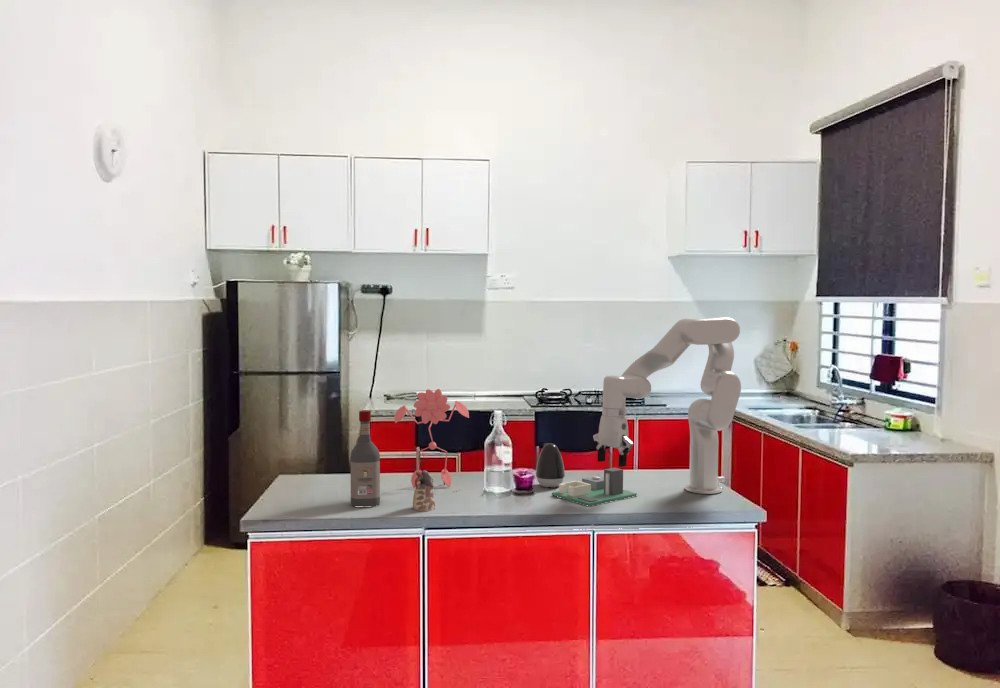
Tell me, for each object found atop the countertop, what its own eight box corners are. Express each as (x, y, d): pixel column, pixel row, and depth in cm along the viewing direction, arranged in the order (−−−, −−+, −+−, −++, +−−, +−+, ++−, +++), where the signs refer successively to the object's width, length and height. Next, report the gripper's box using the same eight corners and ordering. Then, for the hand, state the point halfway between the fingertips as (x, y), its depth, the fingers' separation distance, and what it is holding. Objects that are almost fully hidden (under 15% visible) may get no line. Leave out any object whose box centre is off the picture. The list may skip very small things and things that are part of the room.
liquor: (380, 507, 254) (379, 412, 253) (350, 508, 253) (350, 413, 251) (379, 500, 263) (379, 408, 262) (351, 501, 262) (350, 409, 260)
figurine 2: (437, 510, 250) (437, 472, 250) (414, 512, 248) (414, 473, 248) (432, 504, 257) (432, 467, 257) (410, 506, 255) (410, 469, 255)
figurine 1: (394, 484, 285) (394, 386, 282) (467, 483, 287) (467, 386, 285) (393, 496, 269) (393, 392, 267) (470, 494, 272) (471, 392, 270)
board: (598, 486, 283) (598, 479, 283) (636, 496, 269) (636, 488, 269) (551, 495, 270) (551, 487, 270) (589, 506, 256) (589, 498, 256)
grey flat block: (596, 483, 283) (596, 474, 283) (610, 487, 278) (610, 477, 278) (582, 486, 279) (582, 476, 279) (596, 490, 274) (596, 480, 273)
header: (576, 489, 275) (576, 480, 275) (591, 493, 269) (591, 484, 269) (559, 492, 270) (559, 483, 270) (573, 496, 264) (573, 487, 264)
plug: (614, 490, 273) (614, 467, 272) (622, 493, 269) (623, 469, 269) (602, 493, 269) (602, 469, 269) (611, 495, 266) (611, 471, 266)
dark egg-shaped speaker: (557, 481, 291) (558, 440, 290) (569, 488, 281) (569, 445, 280) (531, 483, 287) (531, 441, 287) (541, 490, 278) (542, 446, 277)
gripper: (640, 415, 263) (638, 467, 264) (603, 409, 277) (601, 458, 278) (625, 416, 259) (622, 469, 260) (587, 410, 272) (585, 460, 273)
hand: (611, 463), depth 269 cm, fingers open, 9 cm apart
